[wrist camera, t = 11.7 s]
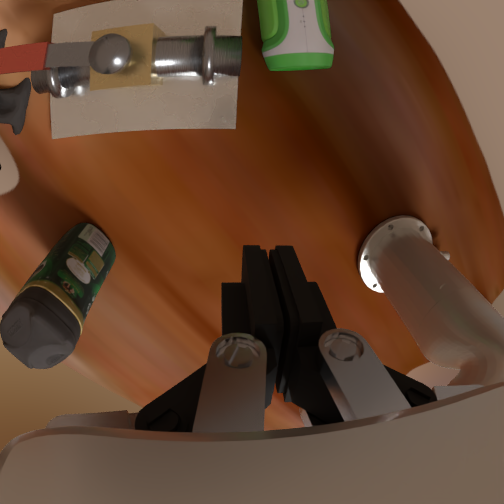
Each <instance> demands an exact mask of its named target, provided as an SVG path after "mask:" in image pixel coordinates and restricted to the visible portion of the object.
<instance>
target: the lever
mask: <svg viewBox="0 0 504 504" xmlns="http://www.w3.org/2000/svg"><path fill="white" fill-rule="evenodd" d="M132 56H133V47H132V44H131V42H130V41H129V40H128V39H127V38H125V37H123V36H121V35H119V34H115V33H111V34H106V35H103V36H102V37H100V38H99V39H97V40H96V41H92V42H69V43H51V42H41V43H33V44H25V45H19V46H12V47H6V48H1V49H0V74H7V73H16V72H26V71H38V70H50V68H51V67H79V66H91V67H92V68H93V70H95V71H96V72H98V73H101V74H116V73H119V72H121V71H122V70H124V69H125V68H126V67H127V66H128V64H129V63H130V61H131V59H132Z"/></svg>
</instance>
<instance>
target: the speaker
mask: <svg viewBox="0 0 504 504" xmlns="http://www.w3.org/2000/svg"><path fill="white" fill-rule="evenodd" d="M257 4H258V12H259V20H260V29H261V38H262V41H263V42H264V43H263V47H262V54H263V57H264V59H265V62H266V65H267V67H268V69H269V70H270V71H293V70H313V69H327V68H330V67H331V66H332V61H333V55H334V45H333V43H332V41H331V29H330V21H329V13H328V6H327V0H257Z"/></svg>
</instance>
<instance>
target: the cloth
mask: <svg viewBox="0 0 504 504" xmlns="http://www.w3.org/2000/svg"><path fill="white" fill-rule="evenodd" d="M6 36H7V30H6V29H4V30H1V31H0V49H1V48H4V45H5V40H6ZM30 91H31V82H30V79H29V78H25V79H24V80H23V81H22V82H21V83H20V84H18V85H17V86H15V87H12V88H9V89H0V123H7V124H11V125H12V128H13V133H14V134H15V135H17V134H20V132H21V130H22V128H23V125H24V121H25V114H26V109H27V105H28V100H29V96H30ZM0 170H1V164H0Z"/></svg>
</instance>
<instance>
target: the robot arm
mask: <svg viewBox="0 0 504 504" xmlns="http://www.w3.org/2000/svg"><path fill="white" fill-rule="evenodd" d="M449 257H450V255H449V252H447V251H441V252H440V251H439V250H438V249H437V248H436V247H435V246H434V245H433V242H432V236H431V233H430V231H429V229H428V228H427V226H426V225H425V224H424V223H423V222H422V221H420V220H419V219H417V218H415V217H412V216H407V215H401V216H395V217H392V218H389V219H387V220H385V221H384V222H382V223H380V224H379V225H378V226H377V227H375V228H374V229H373V230H372V231H371V232H370V234H369V235H368V236H367V238H366V239H365V241H364V242H363V244H362V247H361V249H360V252H359V256H358V271H359V274H360V277H361V278H362V280H363V281H364V283H365V284H366V285H367V286H368V287H369V288H370V289H372V290H374V291H377V292H382V293H384V294H385V295H386V296H387V298H388V299H389V301H390V302H391V304H392V305H393V307H394V309H395V310H396V312H397V313H398V315H399V316H400V318H401V319H402V321H403V322H404V324H405V325H406V327H407V329H408V330H409V332H410V333H411V335H412V337H413V338H414V340H415V341H416V343H417V345H418V346H419V348H420V350H421V351H422V353H423V354H424V355H425V357H426V358H427V359H428V360H429V361H431V362H432V363H434V364H436V365H439V366H441V367H445V368H451V369H459V370H460V372H459V373H458V375H457V376H456V377H455V378H454V379H453V380H452V381H451V382H450V383H449V384H448V385H447V386H434V387H433V388H432V390H431V389H430V388H429V387H427V386H426V385H424V384H423V383H420V382H418V381H416V380H414V379H412V378H410V377H408V376H406V375H404V374H401V373H399V372H397V371H395V370H393V369H391V368H389V367H387V366H385V365H383V364H382V363H381V361H380V360H379V359H378V357H377V356H376V354H375V353H374V351H373V350H372V348H371V347H370V346H369V344H368V343H367V341H366V340H365V339H364V338H363V337H362V336H361V335H359V334H358V333H356V332H354V331H351V330H348V329H341V328H340V329H337V328H336V325H335V323H334V321H333V318H332V316H331V314H330V311H329V309H328V307H327V305H326V302H325V300H324V298H323V295H322V293H321V291H320V289H319V286H318V284H317V283H316V282H307V280H306V277H305V275H304V272H303V270H302V268H301V265H300V263H299V260H298V258H297V255H296V253H295V251H294V248H293V246H276V247H275V250H270V252H269V260H268V256H267V252H266V250H261V249H260V245H243V257H242V279H241V283H222V336H221V337H219V338H217V339H216V340H215V341H214V342H213V344H212V346H211V348H210V351H209V356H208V360H207V363H206V364H205V365H204V366H202V367H201V368H199V369H198V370H197V371H195V372H194V373H192V374H191V375H190V376H188V377H187V378H185V379H184V380H182V381H181V382H180V383H178V384H177V385H175V386H174V387H172V388H171V389H169V390H168V391H167V392H165V393H164V394H162V395H161V396H159V397H158V398H156V399H155V400H153V401H152V402H150V403H149V404H147V405H146V406H145V407H144V408H142V409H141V410H140V411H139V412H138V413H128V411H127V410H124V411H113V412H101V413H86V414H65V415H61V416H57V417H55V418H53V419H52V420H50V422H49V423H48V424H47V426H46V428H45V429H40V430H35V431H31V432H28V433H25V434H22V435H20V436H17V437H16V438H14V439H12V440H11V441H10V442H9V443H8V444H7V445H6V446H5V447H4V449H3V450H2V451H1V453H0V504H504V317H503V316H502V315H501V314H500V313H499V312H498V311H497V310H496V309H495V308H494V307H493V306H492V305H491V304H490V303H489V302H488V301H487V300H486V299H485V298H484V297H483V296H482V294H481V293H480V292H479V291H478V290H477V289H476V288H475V287H474V286H473V285H472V284H471V283H470V282H469V281H468V280H467V279H466V278H465V277H464V276H463V275H462V274H461V273H460V272H459V271H458V270H457V269H456V268H455V267H454V266H453V265H452V264H451V263H450V262H449V261H448V260H449ZM275 384H276V389H277V393H283V396H284V401H285V402H292V403H294V404H296V405H297V406H299V407H300V410H299V411H300V415H301V418H302V420H303V423H304V425H305V427H302V428H293V429H282V430H270V431H264V411H265V409H266V408H267V407H268V406H269V405H270V404H271V399H272V394H273V391H274V385H275Z"/></svg>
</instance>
